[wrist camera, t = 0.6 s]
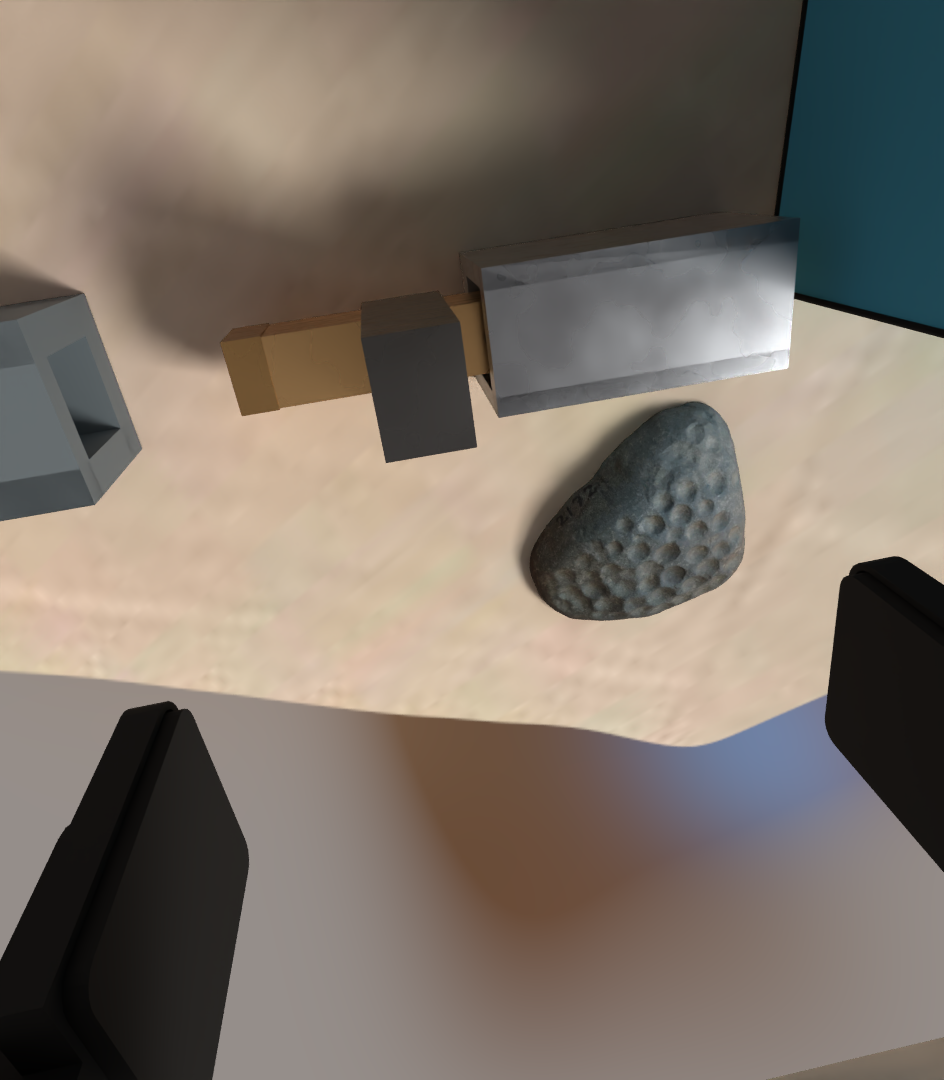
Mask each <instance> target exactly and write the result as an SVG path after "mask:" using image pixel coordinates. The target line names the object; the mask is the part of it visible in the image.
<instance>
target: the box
mask: <svg viewBox="0 0 944 1080" xmlns="http://www.w3.org/2000/svg"><path fill="white" fill-rule="evenodd" d="M774 216H782V217H796V218H800V228H799V240H798V253H797V265H796V278H795V290H794V299H797V300H801V301H805V302H808V303H812V304H816V305H820V306H824V307H827V308H831V309H835V310H839V311H843V312H846V313H850V314H854V315H858V316H861V317H865V318H869V319H873V320H877V321H880V322H884V323H888V324H892V325H896V326H899V327H903V328H907V329H911V330H914V331H918V332H922V333H926V334H930V335H933V336H937V337H941V338H944V0H803V5H802V13H801V20H800V28H799V35H798V43H797V50H796V58H795V65H794V73H793V80H792V88H791V95H790V103H789V110H788V118H787V125H786V133H785V140H784V148H783V155H782V163H781V170H780V178H779V185H778V193H777V200H776V208H775V215H774Z"/></svg>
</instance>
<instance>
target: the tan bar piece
mask: <svg viewBox="0 0 944 1080" xmlns="http://www.w3.org/2000/svg"><path fill="white" fill-rule="evenodd" d="M220 344H221V347H222V351H223V354H224V358H225V361H226V364H227V368H228V371H229V374H230V378H231V381H232V385H233V388H234V391H235V395H236V398H237V401H238V405H239V408H240V412H241V415H242V416H246V415H252V414H258V413H264V412H270V411H276V410H280V408H284V407H290V406H296V405H302V404H308V403H314V402H320V401H326V400H332V399H338V398H344V397H350V396H356V395H362V394H368V393H372V396H373V401H374V406H375V411H376V416H377V421H378V426H379V431H380V436H381V441H382V446H383V451H384V456H385V461H386V463H389V462H395V461H401V460H406V459H412V458H418V457H424V456H429V455H435V454H441V453H447V452H452V451H458V450H464V449H470V448H475V447H477V443H476V435H475V428H474V421H473V413H472V406H471V399H470V391H469V384H468V377H469V376H475V375H481V374H487V373H490V368H489V360H488V351H487V343H486V335H485V326H484V318H483V310H482V302H481V293H480V291H475V292H469V293H462V294H456V295H450V296H444V297H442V295H441V294H440V293H439V291H433V292H427V293H420V294H414V295H408V296H402V297H395V298H389V299H383V300H376V301H370V302H364V303H361V310H356V311H350V312H344V313H337V314H331V315H325V316H319V317H312V318H306V319H300V320H294V321H287V322H281V323H275V324H269V323H266V324H259V325H253V326H247V327H241V328H234V329H232V330H231V331H230V332H229V333H228V335H227V336H226V337H225V338H224V339H223V340H222V341H221V342H220Z"/></svg>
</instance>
